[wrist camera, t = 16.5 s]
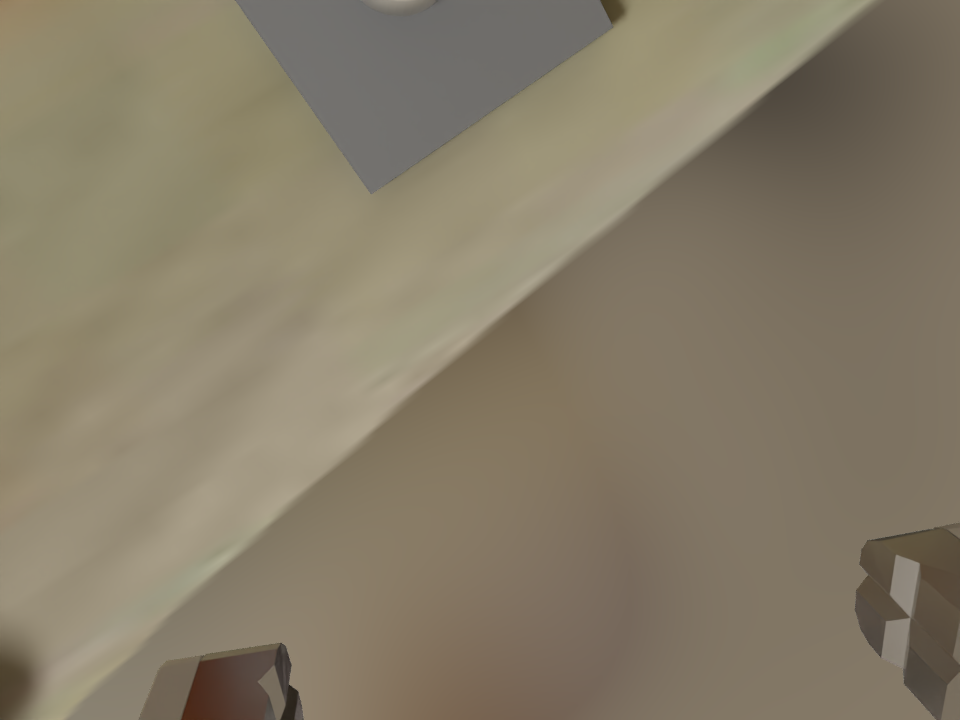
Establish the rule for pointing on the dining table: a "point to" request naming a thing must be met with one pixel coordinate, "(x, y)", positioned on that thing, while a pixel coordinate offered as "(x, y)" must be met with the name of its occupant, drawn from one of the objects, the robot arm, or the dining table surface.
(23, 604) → the dining table surface
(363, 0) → the white lidded jar
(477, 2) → the serving board
